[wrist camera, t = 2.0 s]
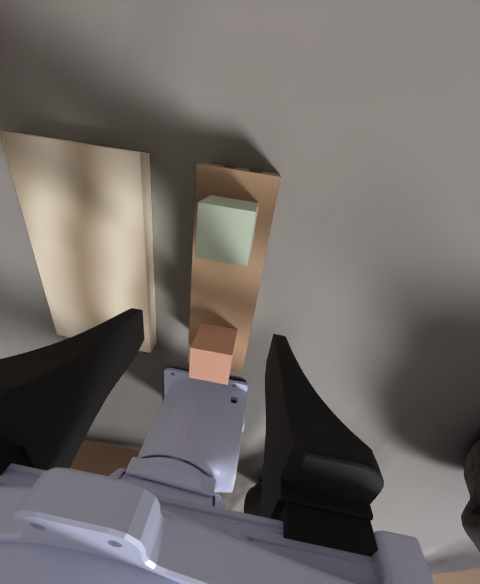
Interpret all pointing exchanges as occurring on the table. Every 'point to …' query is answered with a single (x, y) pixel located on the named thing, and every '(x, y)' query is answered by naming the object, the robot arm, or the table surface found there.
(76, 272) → the dock
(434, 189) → the table surface
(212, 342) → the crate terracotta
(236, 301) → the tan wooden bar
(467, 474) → the vessel
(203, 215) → the pale green cube
